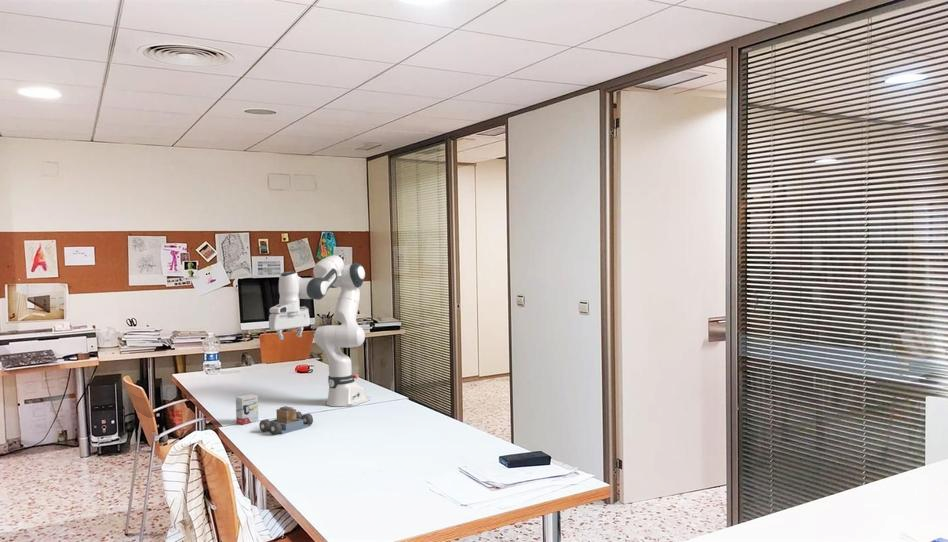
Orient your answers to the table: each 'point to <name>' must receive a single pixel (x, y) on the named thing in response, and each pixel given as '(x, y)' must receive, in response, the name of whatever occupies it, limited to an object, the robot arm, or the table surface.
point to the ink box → (246, 409)
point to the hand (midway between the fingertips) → (290, 338)
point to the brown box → (286, 415)
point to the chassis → (284, 428)
